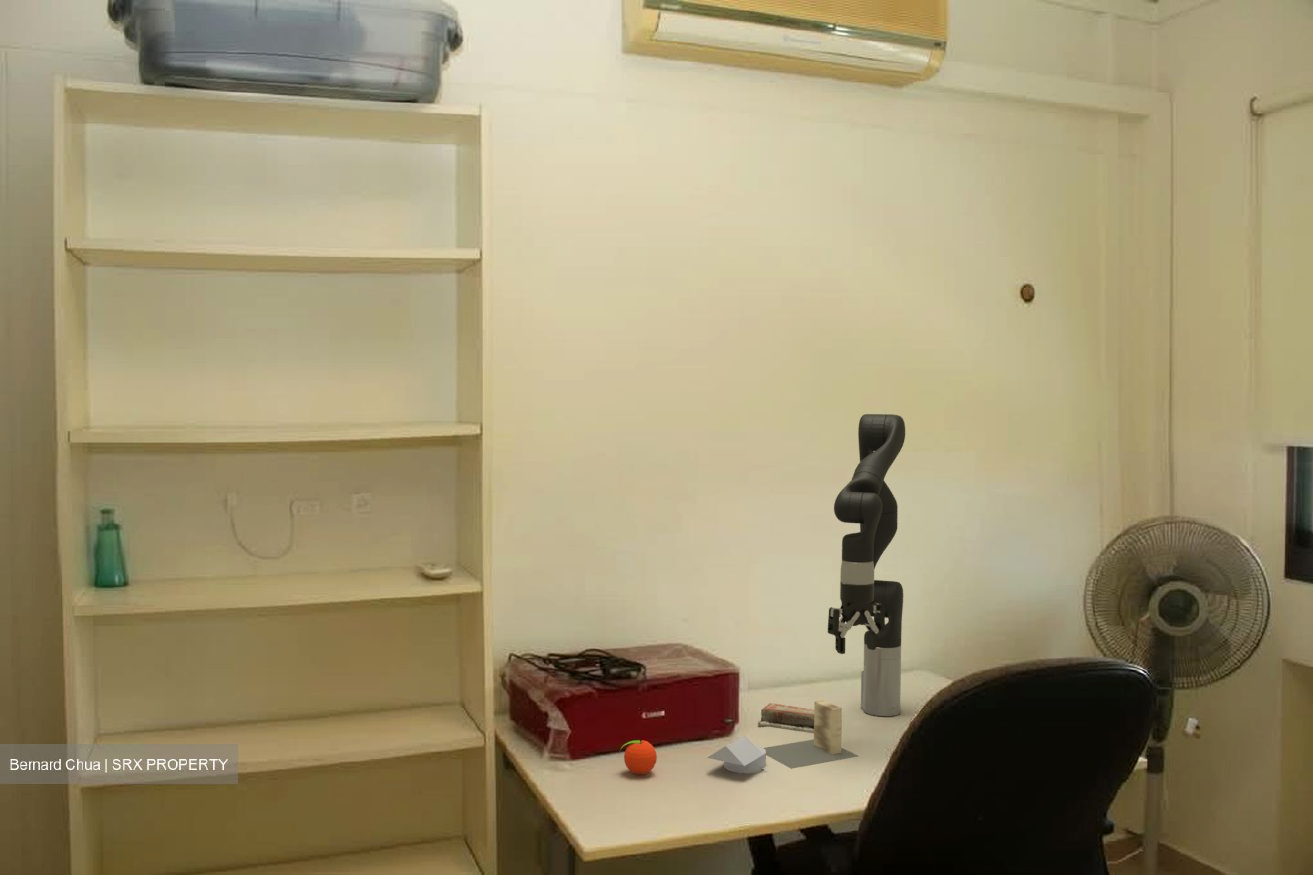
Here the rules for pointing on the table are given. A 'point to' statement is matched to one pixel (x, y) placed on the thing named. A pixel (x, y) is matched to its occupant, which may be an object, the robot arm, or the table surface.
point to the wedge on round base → (742, 756)
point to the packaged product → (787, 718)
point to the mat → (804, 754)
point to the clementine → (640, 756)
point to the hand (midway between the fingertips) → (856, 651)
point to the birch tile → (827, 727)
